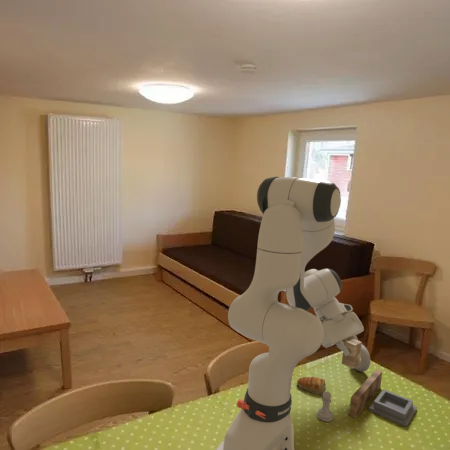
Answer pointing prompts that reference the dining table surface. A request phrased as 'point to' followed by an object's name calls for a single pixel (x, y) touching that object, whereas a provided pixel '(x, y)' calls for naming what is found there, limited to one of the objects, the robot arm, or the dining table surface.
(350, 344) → the block
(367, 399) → the door edge
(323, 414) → the chess piece
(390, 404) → the seat block
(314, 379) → the pastry
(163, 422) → the dining table surface
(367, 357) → the donut
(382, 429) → the dining table surface
